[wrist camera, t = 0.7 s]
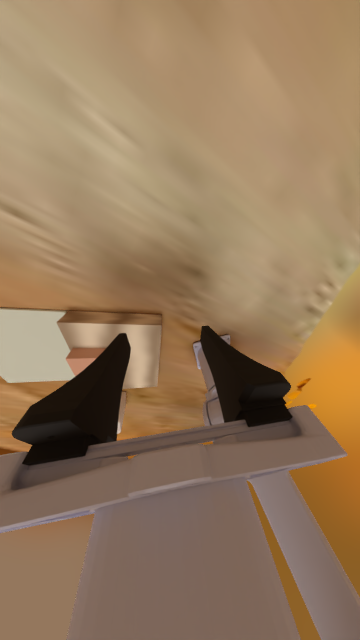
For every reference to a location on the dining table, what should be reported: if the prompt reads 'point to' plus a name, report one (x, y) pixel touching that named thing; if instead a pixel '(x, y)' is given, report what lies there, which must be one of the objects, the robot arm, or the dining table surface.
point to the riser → (104, 328)
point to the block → (82, 358)
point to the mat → (32, 346)
